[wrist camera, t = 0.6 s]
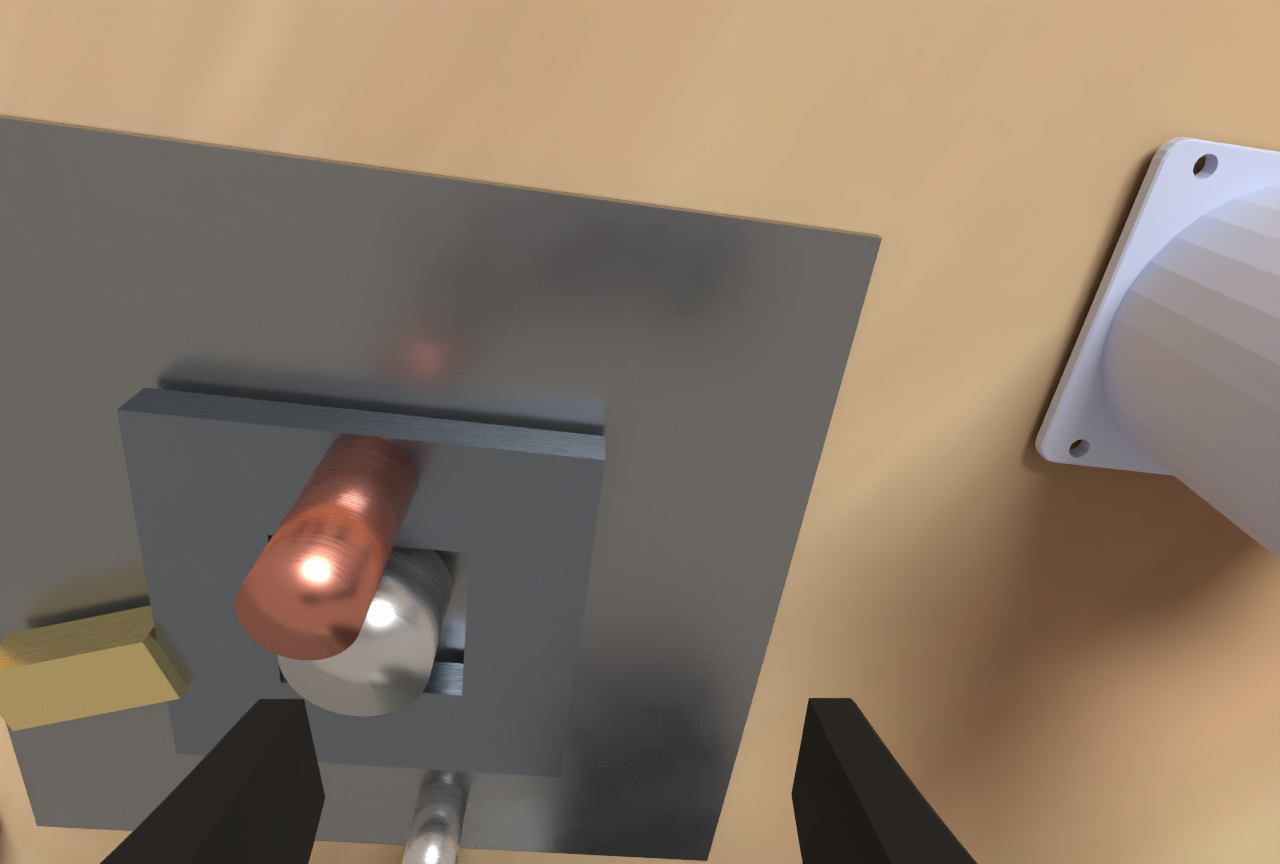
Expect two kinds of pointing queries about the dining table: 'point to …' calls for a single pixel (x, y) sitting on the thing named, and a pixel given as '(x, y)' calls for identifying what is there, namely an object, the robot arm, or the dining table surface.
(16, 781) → the dining table surface
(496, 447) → the metal parts fixture
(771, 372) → the post base
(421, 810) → the dowel pin
